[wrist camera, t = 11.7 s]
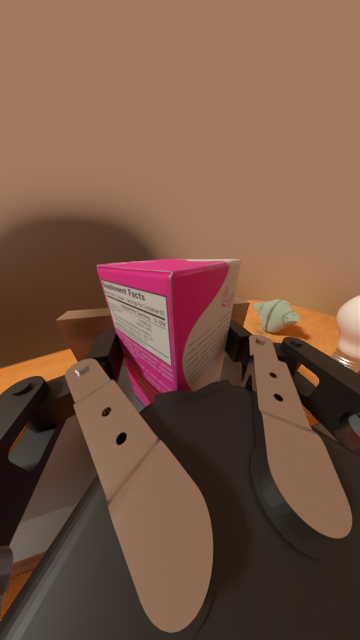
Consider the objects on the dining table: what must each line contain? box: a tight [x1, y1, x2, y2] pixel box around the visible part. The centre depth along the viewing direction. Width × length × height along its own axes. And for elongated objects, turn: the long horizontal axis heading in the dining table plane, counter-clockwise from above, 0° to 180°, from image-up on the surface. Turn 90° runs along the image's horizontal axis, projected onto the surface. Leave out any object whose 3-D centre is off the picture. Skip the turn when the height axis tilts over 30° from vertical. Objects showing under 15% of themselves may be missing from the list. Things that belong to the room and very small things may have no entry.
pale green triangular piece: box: [253, 299, 301, 333], centre depth 24 cm, size 8×4×7 cm, turn 27°
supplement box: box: [97, 259, 241, 407], centre depth 9 cm, size 6×6×12 cm
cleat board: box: [9, 298, 338, 579], centre depth 12 cm, size 20×13×9 cm, turn 102°
